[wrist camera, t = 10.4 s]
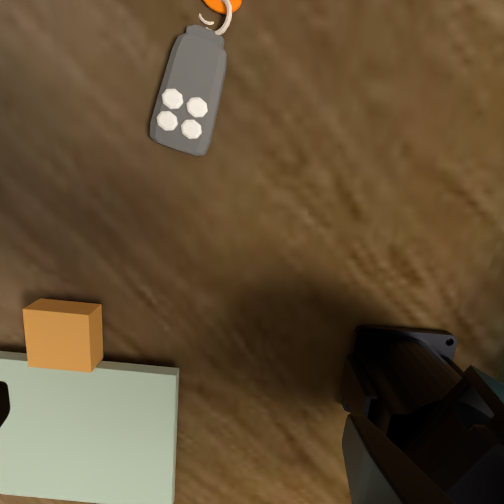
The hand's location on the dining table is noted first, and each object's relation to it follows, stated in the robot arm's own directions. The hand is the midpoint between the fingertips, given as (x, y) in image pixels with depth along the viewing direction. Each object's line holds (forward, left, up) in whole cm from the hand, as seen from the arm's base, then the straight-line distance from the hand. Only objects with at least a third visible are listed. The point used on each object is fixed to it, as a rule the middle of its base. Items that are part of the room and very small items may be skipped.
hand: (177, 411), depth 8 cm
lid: (+10, +11, -12) cm, 19 cm away
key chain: (+2, -13, -13) cm, 18 cm away
